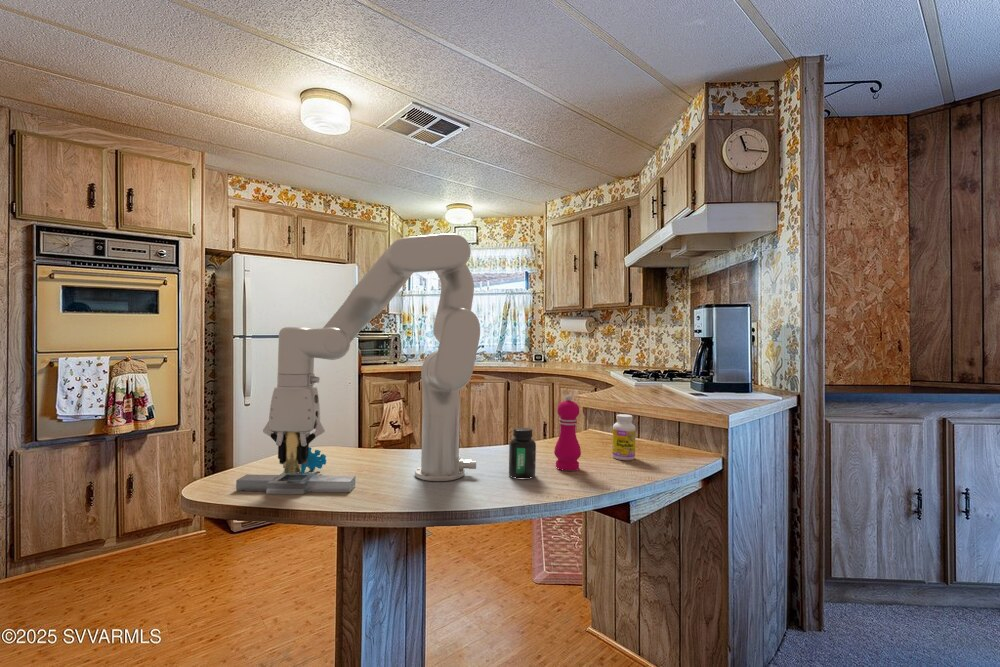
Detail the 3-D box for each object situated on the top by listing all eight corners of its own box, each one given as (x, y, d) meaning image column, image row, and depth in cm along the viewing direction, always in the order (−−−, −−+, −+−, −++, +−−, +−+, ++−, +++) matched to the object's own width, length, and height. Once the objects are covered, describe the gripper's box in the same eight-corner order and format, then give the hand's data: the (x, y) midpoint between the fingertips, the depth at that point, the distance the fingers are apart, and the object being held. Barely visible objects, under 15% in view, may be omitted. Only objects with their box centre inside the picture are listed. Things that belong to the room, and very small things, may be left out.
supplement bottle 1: (524, 481, 115) (525, 432, 116) (503, 475, 120) (504, 428, 120) (540, 476, 120) (541, 429, 121) (519, 470, 125) (520, 425, 125)
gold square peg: (303, 469, 108) (305, 425, 108) (297, 473, 105) (298, 428, 105) (288, 469, 108) (289, 425, 108) (281, 473, 105) (283, 428, 105)
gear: (333, 463, 122) (318, 442, 115) (328, 484, 118) (313, 463, 111) (291, 468, 123) (274, 447, 116) (285, 489, 118) (267, 468, 111)
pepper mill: (584, 467, 130) (586, 394, 130) (574, 473, 123) (575, 397, 124) (560, 463, 133) (562, 392, 134) (549, 468, 127) (550, 395, 128)
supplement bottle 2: (612, 460, 138) (613, 416, 138) (611, 454, 145) (612, 413, 145) (636, 461, 137) (637, 417, 137) (633, 456, 144) (634, 414, 144)
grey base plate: (357, 483, 111) (357, 473, 111) (347, 495, 103) (347, 484, 103) (250, 482, 110) (250, 472, 110) (231, 493, 102) (231, 482, 102)
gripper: (337, 380, 111) (335, 458, 110) (266, 379, 110) (264, 457, 110) (326, 383, 103) (324, 467, 103) (250, 382, 103) (247, 466, 103)
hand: (293, 461), depth 106 cm, fingers closed on gold square peg, 3 cm apart
